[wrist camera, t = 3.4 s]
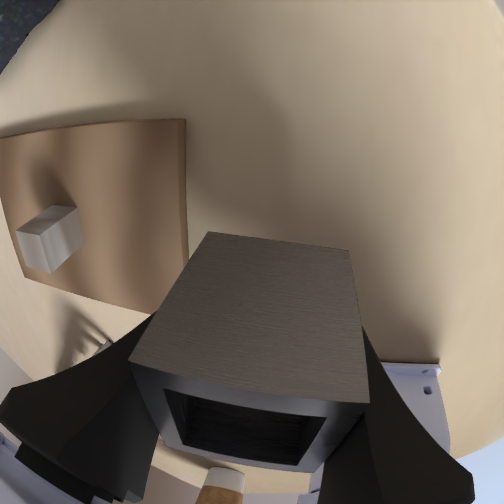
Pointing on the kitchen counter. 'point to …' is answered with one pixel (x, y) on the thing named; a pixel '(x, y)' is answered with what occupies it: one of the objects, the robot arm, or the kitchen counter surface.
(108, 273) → the post base
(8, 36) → the dark slate chunk
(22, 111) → the kitchen counter surface
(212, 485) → the coffee cup
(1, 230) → the kitchen counter surface
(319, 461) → the steel collar
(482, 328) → the kitchen counter surface
